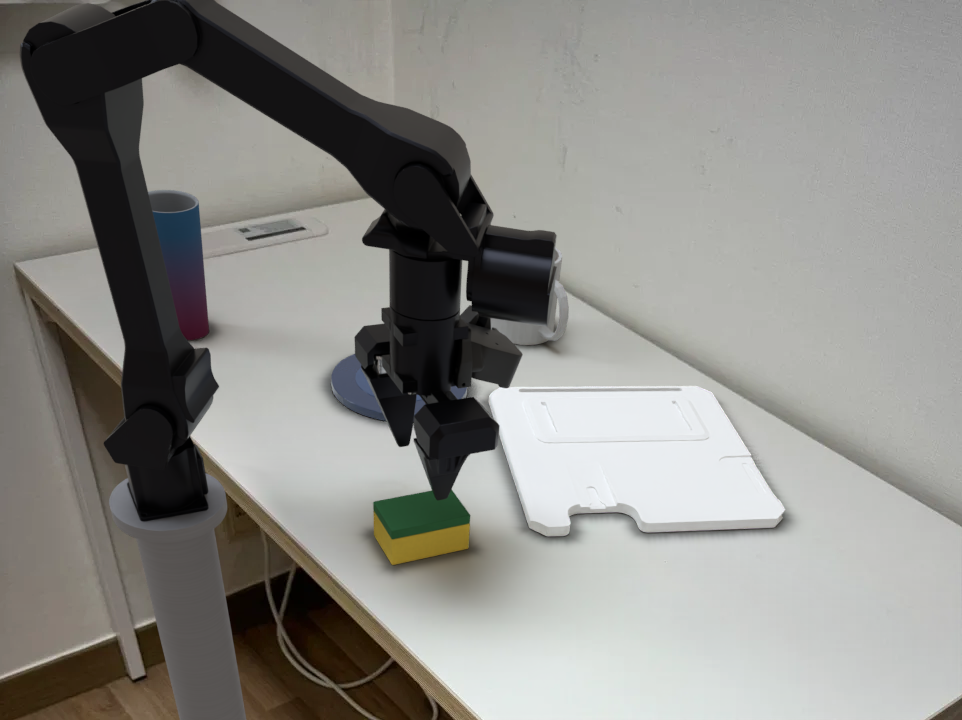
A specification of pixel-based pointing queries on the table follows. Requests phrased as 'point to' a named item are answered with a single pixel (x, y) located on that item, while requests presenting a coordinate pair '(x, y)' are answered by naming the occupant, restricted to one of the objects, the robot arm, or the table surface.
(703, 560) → the table surface
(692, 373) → the table surface
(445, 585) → the table surface
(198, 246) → the cup
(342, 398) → the plate
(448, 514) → the sponge
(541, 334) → the mug
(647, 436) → the tray
